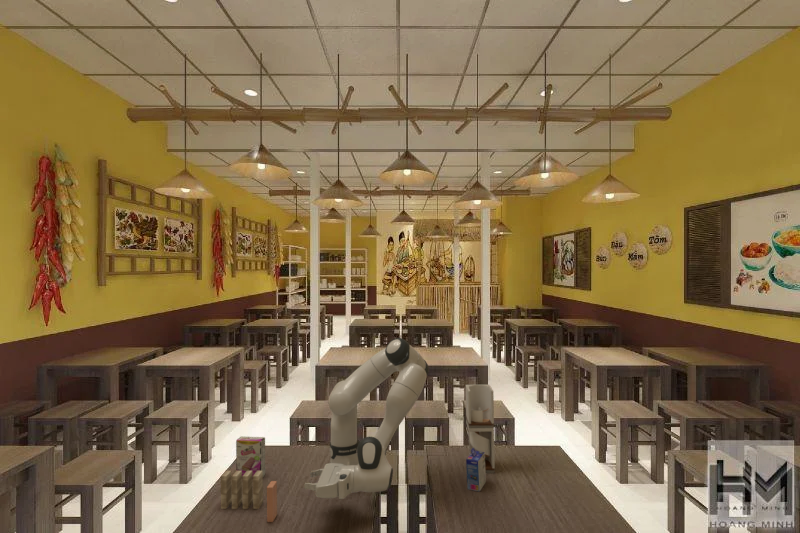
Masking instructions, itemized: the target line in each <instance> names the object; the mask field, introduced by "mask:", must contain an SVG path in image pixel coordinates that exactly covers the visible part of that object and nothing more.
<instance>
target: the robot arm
mask: <svg viewBox="0 0 800 533" xmlns="http://www.w3.org/2000/svg"><path fill="white" fill-rule="evenodd" d="M395 372H398V375H397V376H396V379H395V381H394V382H393V384H392V385H391V386H390V389H389V391H388V394H387V395H386V396H387V397H386V400H385V412H384V417H383V419H382V422H381V423H380V425H379V428H378V430H377V431H376V433H375V435H374V436H366V437H364V438H362V439H361V440H359V439H358V431H357V430H358V427H357V426H358V405H359V404H360V403H361V402H362V401H363V400H364V399H365V398H366V397H367V396H368V395H369V394H370V393H371V392H372V391H374V389H376V388H377V387H378V386H379V385H380V384H382V383H383V382H384V381H385V380H387V379H388V378H389V377H390V376H392V374H394V373H395ZM429 372H430V368H429V364H428V363H427V361H426V360H425V359H424V357H423V356H422V355H421V354H420V353H419V351H418V350H416V349H415V347H413V346H412V345H411V344H410V343H409V342H408V341H407V340H406V339H404V338H401V337H396V338H394V339H392V340H391V341H389V342H388V343H387V345H386V346H385V347H384V348H383V349H381V350H379V351H378V352H377V353H375V354H373V355H372V356H371V357H370V358H368V359H367V360H366V361H365V362H363V363H362V364H361V365H360V366H358V368H357V369H355V370H354V371H353V372H352V373H351V374H350V375H349V376H348V377H346V379H343V380H340V381H337V383H336V384H335V385H334V387H333V389H331V391H330V394H329V396H328V401H327V402H328V408H329V410H330V412H331V417H330V442H329V457H330V458H329V460H330V461H329V463H326V464H324V467H323V468H318V469H316V470H311V471H310V473H309V477H310V478H315V477H319V478H318V481H317V482H314V483H312V482H311V481H306V482H304V485H303V486H304V487H303V488H304V490H310V491H313V492H315V496H316V497H317V498H319V499H336V498H338V499H339V500H344V499H346V498H347V497H348V496H349V495H350V494H352V493H353V494H354V493H358V492H364V493H380V492H385V491H387V490H389V489H390V487H391V485H392V483H393V482H392V481H393V474H394V468H393V467H392V465H391V464H390V461H389V460H388V458H387V451H388V447H389V445H390V443H391V441H392V439H393V437H394V436H395V434H396V432H397V430H398V428H399V426H400V425H401V423H402V422H403V421H404V419H405V418H406V416H407V415H408V414H409V413H410V411H411V410H412V408H414V405H415V404H416V403H417V401H418V399H419V398H420V397H421V396H420V395H421V394H422V391H423V389H424V386H425V384H426V381H427V377H428V375H429Z"/></svg>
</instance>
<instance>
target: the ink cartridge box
mask: <svg viewBox="0 0 800 533" xmlns="http://www.w3.org/2000/svg"><path fill="white" fill-rule="evenodd" d="M473 450H474V451H473ZM465 466H466V467H465V468H466V483H467V484H466V485H467V486H466V487H467V490H469V491H475V492H481V491H482V488H483V487H484V485H485V484H486V482H487V479H486V478H487V476H486V474H487V473H486V472H485V452H480V451H475V449H474V448H472V449H471V454H470V455H469V454H468V456H467V457H466V459H465Z"/></svg>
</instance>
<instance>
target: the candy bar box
mask: <svg viewBox="0 0 800 533" xmlns="http://www.w3.org/2000/svg"><path fill="white" fill-rule="evenodd" d="M235 444H236V445H235V448H236V449H235V453H236V455H235V456H236V457H235V459H236V461H235V463H236V464H235V466H236V470H235V472H236V471H242V476H243V475H244V474H245V472H246V471H252V480H253V475H254V474H255V473H256V472H257V471H263V477H265V476H266V437H265V436H264V437H263V436H241V435H240V436H239V438H237V439H236V442H235Z"/></svg>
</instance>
